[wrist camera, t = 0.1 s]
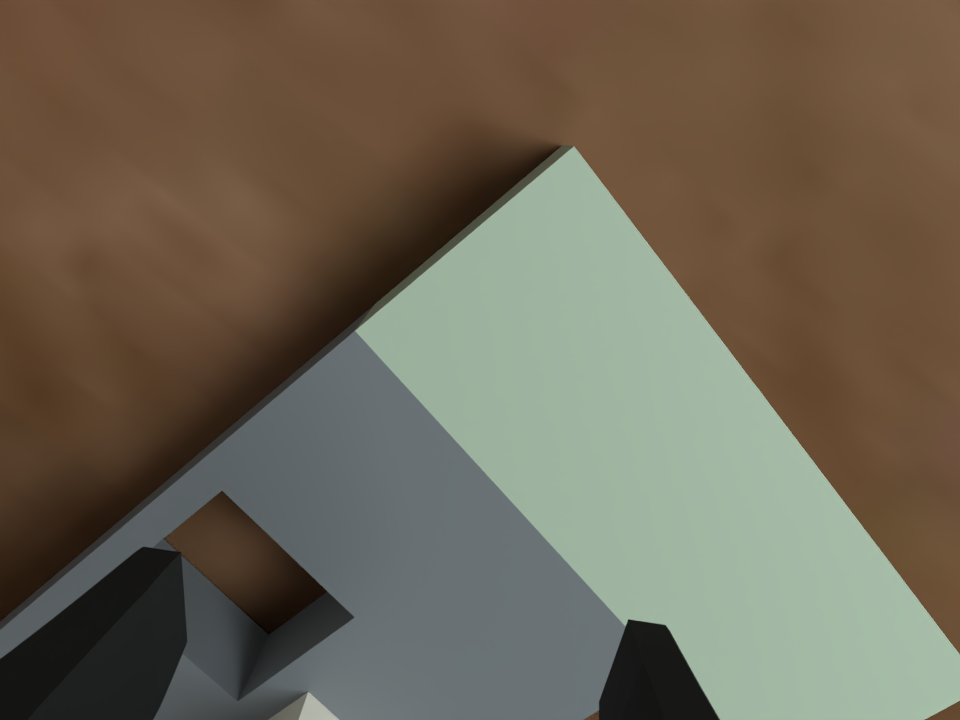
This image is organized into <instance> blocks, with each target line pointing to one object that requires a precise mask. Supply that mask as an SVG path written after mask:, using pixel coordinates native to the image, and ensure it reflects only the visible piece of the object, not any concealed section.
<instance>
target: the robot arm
mask: <svg viewBox="0 0 960 720" xmlns="http://www.w3.org/2000/svg"><path fill="white" fill-rule="evenodd" d="M186 644H187V628H186V614H185V599H184V585H183V570H182V556H181V552H176V551H170V550H163V549H156V548H150V547H142V548H140V549H139V550H137V551H136V552H134V553H133V554H132V555H131V556H129V557H128V558H127V559H126V560H124V561H123V562H122V563H121V564H120V565H118V566H117V567H116V568H115V569H113V570H112V571H111V572H110V573H109V574H107V575H106V576H105V577H104V578H102V579H101V580H100V581H99V582H98V583H96V584H95V585H94V586H93V587H91V588H90V589H89V590H88V591H86V592H85V593H84V594H83V595H82V596H80V597H79V598H78V599H77V600H75V601H74V602H73V603H72V604H70V605H69V606H68V607H67V608H65V609H64V610H63V611H62V612H60V613H59V614H58V615H57V616H55V617H54V618H53V619H51V620H50V621H49V622H47V623H46V624H45V625H44V626H42V627H41V628H40V629H38V630H37V631H36V632H35V633H33V634H32V635H31V636H29V637H28V638H27V639H25V640H24V641H23V642H22V643H20V644H19V645H18V646H16V647H15V648H14V649H13V650H11V651H10V652H9V653H7V654H6V655H5V656H3V657H2V658H1V659H0V720H153V719H154V717H155V716H156V714H157V712H158V710H159V708H160V706H161V704H162V702H163V699H164V697H165V695H166V692H167V690H168V688H169V685H170V683H171V681H172V678H173V676H174V673H175V671H176V669H177V666H178V664H179V661H180V659H181V656H182V654H183V651H184V649H185V646H186ZM599 720H720V719H719V717H718V715H717V714H716V712H715V710H714V709H713V707H712V705H711V703H710V702H709V700H708V698H707V696H706V695H705V693H704V691H703V689H702V688H701V686H700V684H699V682H698V681H697V679H696V677H695V675H694V674H693V672H692V670H691V668H690V666H689V665H688V663H687V661H686V659H685V657H684V656H683V654H682V652H681V650H680V648H679V646H678V645H677V643H676V641H675V639H674V637H673V636H672V634H671V632H670V630H669V629H668V628H667V626H666V625H663V624H656V623H650V622H643V621H636V620H630V619H628V621H627V624H626V627H625V630H624V633H623V635H622V638H621V641H620V644H619V647H618V650H617V652H616V655H615V658H614V661H613V664H612V667H611V669H610V672H609V675H608V678H607V681H606V683H605V686H604V689H603V692H602V695H601V698H600V700H599Z"/></svg>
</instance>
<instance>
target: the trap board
mask: <svg viewBox="0 0 960 720" xmlns="http://www.w3.org/2000/svg"><path fill="white" fill-rule="evenodd" d="M221 491H223V492H224V493H225V494H226V495H227V496H228V497H229V498H230V499H231V500H232V501H233V502H235V503H236V504H237V505H238V506H239V507H240V508H241V509H242V510H243V511H244V512H245V513H246V514H247V515H248V516H249V517H250V518H251V519H252V520H253V521H254V522H255V523H256V524H258V525H259V526H260V527H261V528H262V529H263V530H264V531H265V532H266V533H267V534H268V535H269V536H270V537H271V538H272V539H273V540H274V541H275V542H276V543H277V544H278V545H279V546H281V547H282V548H283V549H284V550H285V551H286V552H287V553H288V554H289V555H290V556H291V557H292V558H293V559H294V560H295V561H296V562H297V563H298V564H299V565H300V566H301V567H303V568H304V569H305V570H306V571H307V572H308V573H309V574H310V575H311V576H312V577H313V578H314V579H315V580H316V581H317V582H318V583H319V584H320V585H321V586H322V587H323V588H324V589H326V590H327V592H326V593H325V594H323V595H322V596H320V597H319V598H318V599H316V600H315V601H314V602H312V603H311V604H310V605H308V606H307V607H306V608H304V609H303V610H302V611H300V612H299V613H297V614H296V615H295V616H293V617H292V618H291V619H289V620H288V621H287V622H285V623H284V624H283V625H281V626H280V627H278V628H277V629H276V630H274V631H273V632H272V633H270V634H269V635H268V634H267V633H266V632H265V631H264V630H263V629H262V628H261V627H260V626H259V625H257V624H256V623H255V622H254V621H253V620H252V619H251V618H250V617H249V616H248V615H246V614H245V613H244V612H243V611H242V610H241V609H240V608H239V607H238V606H237V605H235V604H234V603H233V602H232V601H231V600H230V599H229V598H228V597H227V596H226V595H224V594H223V593H222V592H221V591H220V590H219V589H218V588H217V587H216V586H215V585H213V584H212V583H211V582H210V581H209V580H208V579H207V578H206V577H205V576H204V575H202V574H201V573H200V572H199V571H198V570H197V569H196V568H195V567H194V566H193V565H192V564H190V563H189V562H188V561H187V560H186V559H185V558H184V557H183V556H182V555H181V556H182V570H183V585H184V599H185V614H186V628H187V644H186V646H185V649H184V651H183V654H182V656H181V659H180V661H179V664H178V666H177V669H176V671H175V673H174V676H173V678H172V681H171V683H170V685H169V688H168V690H167V692H166V695H165V697H164V699H163V702H162V704H161V706H160V708H159V710H158V712H157V714H156V716H155V717H154V719H153V720H269V719H270V718H271V717H273V716H274V715H276V714H277V713H279V712H280V711H281V710H283V709H284V708H286V707H287V706H289V705H290V704H291V703H293V702H294V701H296V700H297V699H299V698H300V697H301V696H303V695H304V694H306V693H307V692H309V693H310V694H311V695H312V696H314V697H315V698H316V699H317V700H318V701H319V702H320V703H321V704H322V705H324V706H325V707H326V708H327V709H328V710H329V711H330V712H331V713H332V714H334V715H335V716H336V717H337V718H338V719H339V720H584V719H585V718H587V717H589V716H590V715H592V714H593V713H595V712H597V711H598V710H599V700H600V698H601V695H602V692H603V689H604V686H605V683H606V681H607V678H608V675H609V672H610V669H611V667H612V664H613V661H614V658H615V655H616V652H617V650H618V647H619V644H620V641H621V638H622V635H623V633H624V630H625V627H626V624H627V621H628V619H630V620H636V621H643V622H650V623H656V624H663V625H666V626H667V628H668V629H669V630H670V632H671V634H672V636H673V637H674V639H675V641H676V643H677V645H678V646H679V648H680V650H681V652H682V654H683V656H684V657H685V659H686V661H687V663H688V665H689V666H690V668H691V670H692V672H693V674H694V675H695V677H696V679H697V681H698V682H699V684H700V686H701V688H702V689H703V691H704V693H705V695H706V696H707V698H708V700H709V702H710V703H711V705H712V707H713V709H714V710H715V712H716V714H717V715H718V717H719V719H720V720H925V719H926V718H928V717H930V716H932V715H934V714H936V713H938V712H939V711H941V710H943V709H945V708H947V707H949V706H951V705H952V704H954V703H956V702H958V701H960V654H959V653H958V652H957V651H956V649H955V648H954V647H953V645H952V644H951V643H950V641H949V640H948V639H947V637H946V636H945V635H944V633H943V632H942V631H941V629H940V628H939V627H938V625H937V624H936V623H935V622H934V620H933V619H932V618H931V616H930V615H929V614H928V612H927V611H926V610H925V608H924V607H923V606H922V604H921V603H920V602H919V600H918V599H917V598H916V596H915V595H914V594H913V593H912V591H911V590H910V589H909V587H908V586H907V585H906V583H905V582H904V581H903V579H902V578H901V577H900V575H899V574H898V573H897V571H896V570H895V569H894V567H893V566H892V565H891V563H890V562H889V561H888V560H887V558H886V557H885V556H884V554H883V553H882V552H881V550H880V549H879V548H878V546H877V545H876V544H875V542H874V541H873V540H872V538H871V537H870V536H869V534H868V533H867V532H866V531H865V529H864V528H863V527H862V525H861V524H860V523H859V521H858V520H857V519H856V517H855V516H854V515H853V513H852V512H851V511H850V509H849V508H848V507H847V505H846V504H845V503H844V502H843V500H842V499H841V498H840V496H839V495H838V494H837V492H836V491H835V490H834V488H833V487H832V486H831V484H830V483H829V482H828V480H827V479H826V478H825V476H824V475H823V474H822V473H821V471H820V470H819V469H818V467H817V466H816V465H815V463H814V462H813V461H812V459H811V458H810V457H809V455H808V454H807V453H806V451H805V450H804V449H803V447H802V446H801V445H800V444H799V442H798V441H797V440H796V438H795V437H794V436H793V434H792V433H791V432H790V430H789V429H788V428H787V426H786V425H785V424H784V422H783V421H782V420H781V418H780V417H779V416H778V415H777V413H776V412H775V411H774V409H773V408H772V407H771V405H770V404H769V403H768V401H767V400H766V399H765V397H764V396H763V395H762V393H761V392H760V391H759V389H758V388H757V387H756V385H755V384H754V383H753V382H752V380H751V379H750V378H749V376H748V375H747V374H746V372H745V371H744V370H743V368H742V367H741V366H740V364H739V363H738V362H737V360H736V359H735V358H734V356H733V355H732V354H731V353H730V351H729V350H728V349H727V347H726V346H725V345H724V343H723V342H722V341H721V339H720V338H719V337H718V335H717V334H716V333H715V331H714V330H713V329H712V327H711V326H710V325H709V324H708V322H707V321H706V320H705V318H704V317H703V316H702V314H701V313H700V312H699V310H698V309H697V308H696V306H695V305H694V304H693V302H692V301H691V300H690V298H689V297H688V296H687V295H686V293H685V292H684V291H683V289H682V288H681V287H680V285H679V284H678V283H677V281H676V280H675V279H674V277H673V276H672V275H671V273H670V272H669V271H668V269H667V268H666V267H665V266H664V264H663V263H662V262H661V260H660V259H659V258H658V256H657V255H656V254H655V252H654V251H653V250H652V248H651V247H650V246H649V244H648V243H647V242H646V240H645V239H644V238H643V237H642V235H641V234H640V233H639V231H638V230H637V229H636V227H635V226H634V225H633V223H632V222H631V221H630V219H629V218H628V217H627V215H626V214H625V213H624V211H623V210H622V209H621V207H620V206H619V205H618V204H617V202H616V201H615V200H614V198H613V197H612V196H611V194H610V193H609V192H608V190H607V189H606V188H605V186H604V185H603V184H602V182H601V181H600V180H599V178H598V177H597V176H596V175H595V173H594V172H593V171H592V169H591V168H590V167H589V165H588V164H587V163H586V161H585V160H584V159H583V157H582V156H581V155H580V153H579V152H578V151H577V149H576V148H575V147H574V146H565V145H562V146H561V147H560V148H559V149H557V150H556V151H555V152H554V153H553V154H552V155H550V156H549V157H548V158H547V159H546V160H544V161H543V162H542V163H541V164H540V165H539V166H537V167H536V168H535V169H534V170H533V171H531V172H530V173H529V174H528V175H527V176H526V177H524V178H523V179H522V180H521V181H520V182H518V183H517V184H516V185H515V186H514V187H513V188H511V189H510V190H509V191H508V192H507V193H505V194H504V195H503V196H502V197H501V198H500V199H498V200H497V201H496V202H495V203H494V204H493V205H491V206H490V207H489V208H488V209H487V210H485V211H484V212H483V213H482V214H481V215H480V216H478V217H477V218H476V219H475V220H474V221H472V222H471V223H470V224H469V225H468V226H467V227H465V228H464V229H463V230H462V231H461V232H459V233H458V234H457V235H456V236H455V237H454V238H452V239H451V240H450V241H449V242H448V243H446V244H445V245H444V246H443V247H442V248H441V249H439V250H438V251H437V252H436V253H435V254H433V255H432V256H431V257H430V258H429V259H428V260H426V261H425V262H424V263H423V264H422V265H420V266H419V267H418V268H417V269H416V270H415V271H413V272H412V273H411V274H410V275H409V276H407V277H406V278H405V279H404V280H403V281H402V282H400V283H399V284H398V285H397V286H396V287H395V288H393V289H392V290H391V291H390V292H389V293H387V294H386V295H385V296H384V297H383V298H382V299H380V300H379V301H378V302H377V303H376V304H374V305H373V306H372V307H371V308H370V309H369V310H367V311H366V312H365V313H364V314H363V315H361V316H360V317H359V318H358V319H357V320H356V321H354V322H353V323H352V324H351V325H350V326H348V327H347V328H346V329H345V330H344V331H343V332H341V333H340V334H339V335H338V336H337V337H335V338H334V339H333V340H332V341H331V342H330V343H328V344H327V345H326V346H325V347H324V348H322V349H321V350H320V351H319V352H318V353H317V354H315V355H314V356H313V357H312V358H311V359H309V360H308V361H307V362H306V363H305V364H304V365H302V366H301V367H300V368H299V369H298V370H297V371H295V372H294V373H293V374H292V375H291V376H289V377H288V378H287V379H286V380H285V381H284V382H282V383H281V384H280V385H279V386H278V387H276V388H275V389H274V390H273V391H272V392H271V393H269V394H268V395H267V396H266V397H265V398H263V399H262V400H261V401H260V402H259V403H258V404H256V405H255V406H254V407H253V408H252V409H250V410H249V411H248V412H247V413H246V414H245V415H243V416H242V417H241V418H240V419H239V420H237V421H236V422H235V423H234V424H233V425H232V426H230V427H229V428H228V429H227V430H226V431H224V432H223V433H222V434H221V435H220V436H219V437H217V438H216V439H215V440H214V441H213V442H211V443H210V444H209V445H208V446H207V447H206V448H204V449H203V450H202V451H201V452H200V453H199V454H197V455H196V456H195V457H194V458H193V459H191V460H190V461H189V462H188V463H187V464H186V465H184V466H183V467H182V468H181V469H180V470H178V471H177V472H176V473H175V474H174V475H173V476H171V477H170V478H169V479H168V480H167V481H165V482H164V483H163V484H162V485H161V486H160V487H158V488H157V489H156V490H155V491H154V492H152V493H151V494H150V495H149V496H148V497H147V498H145V499H144V500H143V501H142V502H141V503H139V504H138V505H137V506H136V507H135V508H134V509H132V510H131V511H130V512H129V513H128V514H126V515H125V516H124V517H123V518H122V519H121V520H119V521H118V522H117V523H116V524H115V525H113V526H112V527H111V528H110V529H109V530H108V531H106V532H105V533H104V534H103V535H102V536H101V537H99V538H98V539H97V540H96V541H95V542H93V543H92V544H91V545H90V546H89V547H88V548H86V549H85V550H84V551H83V552H82V553H80V554H79V555H78V556H77V557H76V558H75V559H73V560H72V561H71V562H70V563H69V564H67V565H66V566H65V567H64V568H63V569H62V570H60V571H59V572H58V573H57V574H56V575H54V576H53V577H52V578H51V579H50V580H49V581H47V582H46V583H45V584H44V585H43V586H41V587H40V588H39V589H38V590H37V591H36V592H34V593H33V594H32V595H31V596H30V597H28V598H27V599H26V600H25V601H24V602H23V603H21V604H20V605H19V606H18V607H17V608H15V609H14V610H13V611H12V612H11V613H10V614H8V615H7V616H6V617H5V618H4V619H3V620H1V621H0V659H1V658H2V657H3V656H5V655H6V654H7V653H9V652H10V651H11V650H13V649H14V648H15V647H16V646H18V645H19V644H20V643H22V642H23V641H24V640H25V639H27V638H28V637H29V636H31V635H32V634H33V633H35V632H36V631H37V630H38V629H40V628H41V627H42V626H44V625H45V624H46V623H47V622H49V621H50V620H51V619H53V618H54V617H55V616H57V615H58V614H59V613H60V612H62V611H63V610H64V609H65V608H67V607H68V606H69V605H70V604H72V603H73V602H74V601H75V600H77V599H78V598H79V597H80V596H82V595H83V594H84V593H85V592H86V591H88V590H89V589H90V588H91V587H93V586H94V585H95V584H96V583H98V582H99V581H100V580H101V579H102V578H104V577H105V576H106V575H107V574H109V573H110V572H111V571H112V570H113V569H115V568H116V567H117V566H118V565H120V564H121V563H122V562H123V561H124V560H126V559H127V558H128V557H129V556H131V555H132V554H133V553H134V552H136V551H137V550H139V549H140V548H142V547H150V548H156V549H163V550H170V551H176V550H175V549H174V548H173V547H172V546H171V545H170V544H168V543H167V542H166V541H165V540H164V538H165V537H166V536H167V535H168V534H170V533H171V532H172V531H173V530H174V529H176V528H177V527H178V526H179V525H181V524H182V523H183V522H184V521H185V520H187V519H188V518H189V517H190V516H192V515H193V514H194V513H195V512H196V511H198V510H199V509H200V508H201V507H203V506H204V505H205V504H206V503H207V502H209V501H210V500H211V499H212V498H213V497H215V496H216V495H217V494H218V493H220V492H221ZM176 552H177V551H176Z"/></svg>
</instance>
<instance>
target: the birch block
mask: <svg viewBox="0 0 960 720" xmlns="http://www.w3.org/2000/svg"><path fill="white" fill-rule="evenodd" d="M269 720H339V719H338V718H337V717H336V716H335V715H334V714H332V713H331V712H330V711H329V710H328V709H327V708H326V707H325V706H324V705H322V704H321V703H320V702H319V701H318V700H317V699H316V698H315V697H314V696H312V695H311V694H310V693H309V692H307V693H306V694H304V695H303V696H301V697H300V698H299V699H297V700H296V701H294V702H293V703H291V704H290V705H289V706H287V707H286V708H284V709H283V710H281V711H280V712H279V713H277V714H276V715H274V716H273V717H271V718H270V719H269Z"/></svg>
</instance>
